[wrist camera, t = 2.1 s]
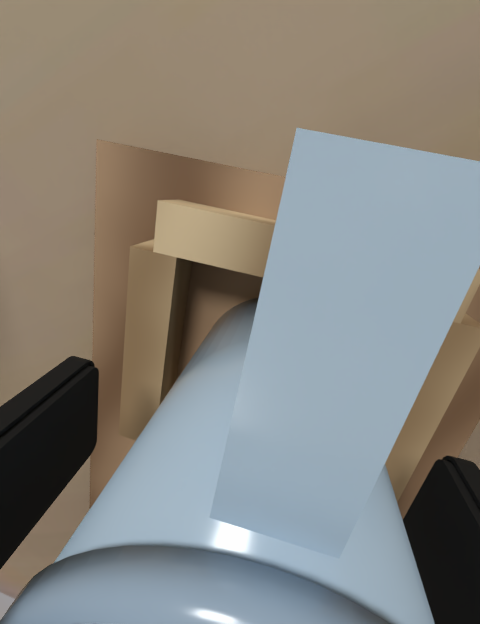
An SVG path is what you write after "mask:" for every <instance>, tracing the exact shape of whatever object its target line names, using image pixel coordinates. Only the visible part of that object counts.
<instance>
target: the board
mask: <svg viewBox="0 0 480 624" xmlns="http://www.w3.org/2000/svg"><path fill="white" fill-rule="evenodd" d="M285 179H286V177H282V176H277V175H272V174H267V173H262V172H257V171H252V170H247V169H242V168H237V167H232V166H228V165H223V164H218V163H213V162H208V161H203V160H198V159H193V158H188V157H183V156H178V155H173V154H168V153H163V152H158V151H153V150H148V149H143V148H138V147H133V146H128V145H123V144H118V143H113V142H108V141H103V140H98V139H97V143H96V196H95V249H94V301H93V354H92V362H94V365H95V367H96V368H98V370H99V389H98V424H97V443H96V446H95V448H94V450H93V452H92V454H91V460H90V508H91V507H92V505H93V504H94V502H95V501H96V500H97V498H98V497H99V495H100V494H101V492H102V491H103V489H104V488H105V486H106V485H107V483H108V482H109V480H110V479H111V477H112V476H113V474H114V473H115V471H116V470H117V468H118V467H119V465H120V464H121V462H122V461H123V459H124V458H125V456H126V455H127V453H128V452H129V450H130V449H131V447H132V446H133V444H134V443H135V441H136V440H133V439H129V438H126V437H123V436H119V421H120V405H121V388H122V371H123V355H124V338H125V322H126V305H127V289H128V272H129V256H130V246H133V245H136V244H140V243H143V242H146V241H150V240H153V239H154V237H155V225H156V214H157V203H158V200H177V199H179V200H184V201H188V202H193V203H197V204H202V205H207V206H211V207H216V208H221V209H225V210H230V211H235V212H239V213H244V214H249V215H253V216H258V217H263V218H267V219H272V220H276V219H277V214H278V210H279V205H280V201H281V196H282V192H283V187H284V183H285ZM479 269H480V266H479ZM262 281H263V277H259V276H255V275H250V274H246V273H242V272H237V271H233V270H229V269H225V268H220V267H216V266H212V265H207V264H203V263H199V262H195V261H192V267H191V274H190V282H189V289H188V297H187V304H186V311H185V319H184V326H183V333H182V341H181V348H180V356H179V363H178V370H177V378H176V380H177V379H178V377H179V376H180V374H181V373H182V371H183V370H184V369H185V367H186V366H187V364H188V363H189V361H190V360H191V358H192V357H193V355H194V354H195V352H196V351H197V349H198V348H199V346H200V345H201V343H202V342H203V340H204V339H205V337H206V336H207V334H208V333H209V331H210V330H211V328H212V327H213V325H214V324H215V323H216V322H217V320H218V319H219V318H220V317H221V316H222V315H223V314H224V313H225V312H227V311H228V310H230V309H231V308H232V307H234V306H236V305H238V304H240V303H242V302H245V301H247V300H250V299H254V298H259V294H260V290H261V286H262ZM466 314H467V315H469V316H470V317H471V318H473V319H474V320H476V321H477V322H478V323H480V285H479V287H478V289H477V291H476V293H475V295H474V297H473V299H472V301H471V303H470V305H469V307H468V309H467V311H466ZM479 420H480V348H479V350H478V352H477V353H476V355H475V357H474V359H473V361H472V363H471V365H470V367H469V368H468V370H467V372H466V374H465V376H464V378H463V380H462V382H461V383H460V385H459V387H458V389H457V391H456V393H455V395H454V397H453V399H452V400H451V402H450V404H449V406H448V408H447V410H446V412H445V414H444V415H443V417H442V419H441V421H440V423H439V425H438V427H437V429H436V430H435V432H434V434H433V436H432V438H431V440H430V442H429V444H428V446H427V447H426V449H425V451H424V453H423V455H422V457H421V459H420V461H419V462H418V464H417V466H416V468H415V470H414V472H413V474H412V476H411V477H410V479H409V481H408V483H407V485H406V487H405V489H404V491H403V493H402V494H401V496H400V498H399V500H398V502H397V503H398V507H399V510H400V513H401V516H402V519H403V518H404V517H405V515H406V513H407V511H408V509H409V508H410V506H411V504H412V502H413V500H414V499H415V497H416V495H417V493H418V491H419V490H420V488H421V486H422V484H423V482H424V481H425V479H426V477H427V475H428V473H429V472H430V470H431V468H432V466H433V465H434V463H435V461H436V460H438V459H441V460H442V459H443V457H445V456H453V457H456V458H457V457H458V456H459V454H460V452H461V451H462V449H463V447H464V446H465V444H466V442H467V440H468V439H469V437H470V435H471V434H472V432H473V430H474V429H475V427H476V425H477V423H478V422H479Z"/></svg>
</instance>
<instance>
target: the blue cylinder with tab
mask: <svg viewBox="0 0 480 624" xmlns="http://www.w3.org/2000/svg"><path fill="white" fill-rule="evenodd" d="M479 266H480V161H474V160H469V159H463V158H458V157H452V156H447V155H442V154H436V153H431V152H425V151H420V150H415V149H409V148H404V147H398V146H393V145H387V144H382V143H377V142H371V141H366V140H360V139H355V138H349V137H344V136H339V135H333V134H328V133H322V132H317V131H311V130H306V129H301V128H297V130H296V134H295V138H294V143H293V147H292V152H291V156H290V161H289V165H288V170H287V174H286V179H285V183H284V187H283V192H282V196H281V201H280V205H279V210H278V214H277V219H276V223H275V228H274V232H273V237H272V241H271V245H270V250H269V254H268V259H267V263H266V268H265V272H264V277H263V281H262V286H261V290H260V294H259V298H254V299H250V300H247V301H245V302H242V303H240V304H238V305H236V306H234V307H232V308H231V309H230V310H228V311H227V312H225V313H224V314H223V315H222V316H221V317H220V318H219V319H218V320H217V322H216V323H215V324H214V325H213V327H212V328H211V330H210V331H209V333H208V334H207V336H206V337H205V339H204V340H203V342H202V343H201V345H200V346H199V348H198V349H197V351H196V352H195V354H194V355H193V357H192V358H191V360H190V361H189V363H188V364H187V366H186V367H185V369H184V370H183V371H182V373H181V374H180V376H179V377H178V379H177V380H176V382H175V383H174V385H173V386H172V388H171V389H170V391H169V392H168V394H167V395H166V397H165V398H164V400H163V401H162V403H161V404H160V406H159V407H158V409H157V410H156V412H155V413H154V415H153V416H152V418H151V419H150V421H149V422H148V424H147V425H146V427H145V428H144V430H143V431H142V433H141V434H140V435H139V437H138V438H137V440H136V441H135V443H134V444H133V446H132V447H131V449H130V450H129V452H128V453H127V455H126V456H125V458H124V459H123V461H122V462H121V464H120V465H119V467H118V468H117V470H116V471H115V473H114V474H113V476H112V477H111V479H110V480H109V482H108V483H107V485H106V486H105V488H104V489H103V491H102V492H101V494H100V495H99V497H98V498H97V500H96V501H95V502H94V504H93V505H92V507H91V508H90V510H89V511H88V513H87V514H86V516H85V517H84V519H83V520H82V522H81V523H80V525H79V526H78V528H77V529H76V531H75V532H74V534H73V535H72V537H71V538H70V540H69V541H68V543H67V544H66V546H65V547H64V549H63V550H62V552H61V553H60V555H59V556H58V558H57V559H56V561H55V562H54V563H53V564H51V565H49V566H47V567H46V568H45V569H43V570H42V571H40V572H39V573H38V574H36V575H35V576H34V577H33V578H32V579H31V580H30V581H29V582H28V583H27V585H26V586H25V587H24V588H23V589H22V591H21V592H20V593H19V595H18V596H17V598H16V599H15V600H14V602H13V603H12V605H11V606H10V607H9V609H8V610H7V612H6V613H5V615H4V616H3V617H2V619H1V620H0V624H435V623H434V619H433V616H432V613H431V610H430V607H429V603H428V600H427V597H426V594H425V590H424V587H423V584H422V581H421V577H420V574H419V571H418V568H417V565H416V561H415V558H414V555H413V552H412V548H411V545H410V542H409V539H408V536H407V532H406V529H405V526H404V523H403V519H402V516H401V513H400V510H399V507H398V503H397V500H396V497H395V494H394V490H393V487H392V484H391V481H390V478H389V474H388V471H387V468H386V465H385V462H386V460H387V458H388V456H389V454H390V452H391V450H392V448H393V446H394V443H395V441H396V439H397V437H398V435H399V433H400V431H401V429H402V427H403V425H404V423H405V421H406V418H407V416H408V414H409V412H410V410H411V408H412V406H413V404H414V402H415V400H416V398H417V396H418V393H419V391H420V389H421V387H422V385H423V383H424V381H425V379H426V377H427V375H428V373H429V370H430V368H431V366H432V364H433V362H434V360H435V358H436V356H437V354H438V352H439V350H440V348H441V345H442V343H443V341H444V339H445V337H446V335H447V333H448V331H449V329H450V327H451V325H452V323H453V320H454V318H455V316H456V314H457V312H458V310H459V308H460V306H461V304H462V302H463V300H464V298H465V295H466V293H467V291H468V289H469V287H470V285H471V283H472V281H473V279H474V277H475V275H476V273H477V270H478V268H479Z"/></svg>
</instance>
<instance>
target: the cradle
mask: <svg viewBox="0 0 480 624" xmlns="http://www.w3.org/2000/svg"><path fill="white" fill-rule="evenodd" d="M275 223H276V220H272V219H267V218H263V217H258V216H253V215H249V214H244V213H239V212H235V211H230V210H225V209H221V208H216V207H211V206H207V205H202V204H197V203H193V202H188V201H184V200H179V199H177V200H158V203H157V214H156V225H155V237H154V239H153V240H150V241H146V242H143V243H140V244H136V245H133V246H130V256H129V272H128V289H127V305H126V322H125V338H124V355H123V371H122V388H121V405H120V421H119V436H123V437H126V438H129V439H133V440H137V438H138V437H139V435H140V434H141V433H142V431H143V430H144V428H145V427H146V425H147V424H148V422H149V421H150V419H151V418H152V416H153V415H154V413H155V412H156V410H157V409H158V407H159V406H160V404H161V403H162V401H163V400H164V398H165V397H166V395H167V394H168V392H169V391H170V389H171V388H172V386H173V385H174V383H175V382H176V378H177V370H178V363H179V356H180V348H181V341H182V333H183V326H184V319H185V311H186V304H187V297H188V289H189V282H190V274H191V267H192V261H195V262H199V263H203V264H207V265H212V266H216V267H220V268H225V269H229V270H233V271H237V272H242V273H246V274H250V275H255V276H259V277H264V272H265V268H266V263H267V259H268V254H269V250H270V245H271V241H272V237H273V232H274V228H275ZM479 285H480V269H479V268H478V270H477V273H476V275H475V277H474V279H473V281H472V283H471V285H470V287H469V289H468V291H467V293H466V295H465V298H464V300H463V302H462V304H461V306H460V308H459V310H458V312H457V314H456V316H455V318H454V320H453V323H452V325H451V327H450V329H449V331H448V333H447V335H446V337H445V339H444V341H443V343H442V345H441V348H440V350H439V352H438V354H437V356H436V358H435V360H434V362H433V364H432V366H431V368H430V370H429V373H428V375H427V377H426V379H425V381H424V383H423V385H422V387H421V389H420V391H419V393H418V396H417V398H416V400H415V402H414V404H413V406H412V408H411V410H410V412H409V414H408V416H407V418H406V421H405V423H404V425H403V427H402V429H401V431H400V433H399V435H398V437H397V439H396V441H395V443H394V446H393V448H392V450H391V452H390V454H389V456H388V458H387V460H386V462H385V465H386V468H387V471H388V474H389V478H390V481H391V484H392V487H393V490H394V494H395V497H396V500H397V502H398V500H399V498H400V496H401V494H402V493H403V491H404V489H405V487H406V485H407V483H408V481H409V479H410V477H411V476H412V474H413V472H414V470H415V468H416V466H417V464H418V462H419V461H420V459H421V457H422V455H423V453H424V451H425V449H426V447H427V446H428V444H429V442H430V440H431V438H432V436H433V434H434V432H435V430H436V429H437V427H438V425H439V423H440V421H441V419H442V417H443V415H444V414H445V412H446V410H447V408H448V406H449V404H450V402H451V400H452V399H453V397H454V395H455V393H456V391H457V389H458V387H459V385H460V383H461V382H462V380H463V378H464V376H465V374H466V372H467V370H468V368H469V367H470V365H471V363H472V361H473V359H474V357H475V355H476V353H477V352H478V350H479V348H480V323H478V322H477V321H476V320H474V319H473V318H471V317H470V316H469V315H467V314H466V311H467V309H468V307H469V305H470V303H471V301H472V299H473V297H474V295H475V293H476V291H477V289H478V287H479Z"/></svg>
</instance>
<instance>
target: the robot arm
mask: <svg viewBox="0 0 480 624" xmlns="http://www.w3.org/2000/svg"><path fill="white" fill-rule="evenodd" d="M98 389H99V370H98V368H96V367H95V365H94V362H92V361H90V360H86V359H83V358H79V357H75V356H71V357H69V358H67V359H66V360H65V361H63V362H62V363H60V364H59V365H58V366H56V367H55V368H54V369H52V370H51V371H49V372H48V373H47V374H45V375H44V376H42V377H41V378H40V379H38V380H37V381H35V382H34V383H33V384H31V385H30V386H29V387H27V388H26V389H24V390H23V391H22V392H20V393H19V394H17V395H16V396H15V397H13V398H12V399H10V400H9V401H8V402H6V403H5V404H4V405H2V406H1V407H0V569H1V568H2V566H3V565H4V564H5V563H6V561H7V560H8V559H9V558H10V556H11V555H12V554H13V553H14V551H15V550H16V549H17V547H18V546H19V545H20V544H21V542H22V541H23V540H24V539H25V537H26V536H27V535H28V534H29V532H30V531H31V530H32V528H33V527H34V526H35V525H36V523H37V522H38V521H39V520H40V518H41V517H42V516H43V515H44V513H45V512H46V511H47V509H48V508H49V507H50V506H51V504H52V503H53V502H54V501H55V499H56V498H57V497H58V496H59V494H60V493H61V492H62V490H63V489H64V488H65V487H66V485H67V484H68V483H69V482H70V480H71V479H72V478H73V476H74V475H75V474H76V473H77V471H78V470H79V469H80V468H81V466H82V465H83V464H84V463H85V461H86V460H87V459H88V457H89V456H90V455H91V454H92V452H93V450H94V448H95V446H96V443H97V424H98ZM403 523H404V526H405V529H406V532H407V536H408V539H409V542H410V545H411V548H412V552H413V555H414V558H415V561H416V565H417V568H418V571H419V574H420V577H421V581H422V584H423V587H424V590H425V594H426V597H427V600H428V603H429V607H430V610H431V613H432V616H433V619H434V623H435V624H480V470H479V468H478V467H477V466H476V465H475V463H473V462H471V461H468V460H464V459H460V458H456V457H453V456H445V457H443V459H442V460H441V459H438V460H436V461H435V463H434V465H433V466H432V468H431V470H430V472H429V473H428V475H427V477H426V479H425V481H424V482H423V484H422V486H421V488H420V490H419V491H418V493H417V495H416V497H415V499H414V500H413V502H412V504H411V506H410V508H409V509H408V511H407V513H406V515H405V517H404V518H403Z"/></svg>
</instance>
